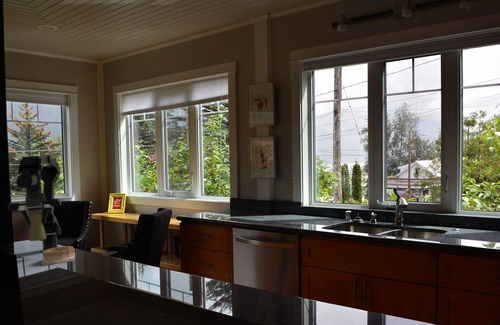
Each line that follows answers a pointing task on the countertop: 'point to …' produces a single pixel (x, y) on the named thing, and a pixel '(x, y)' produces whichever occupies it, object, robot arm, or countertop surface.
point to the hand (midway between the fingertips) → (36, 225)
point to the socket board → (58, 255)
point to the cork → (36, 226)
